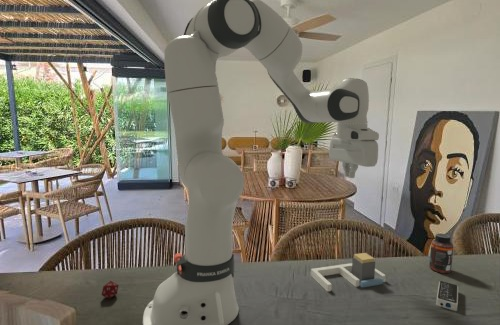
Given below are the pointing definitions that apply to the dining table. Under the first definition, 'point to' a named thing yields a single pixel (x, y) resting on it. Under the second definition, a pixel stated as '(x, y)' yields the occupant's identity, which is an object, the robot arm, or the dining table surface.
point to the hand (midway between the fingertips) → (349, 177)
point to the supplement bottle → (441, 254)
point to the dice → (110, 290)
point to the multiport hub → (447, 296)
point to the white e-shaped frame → (345, 272)
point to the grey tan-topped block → (363, 266)
